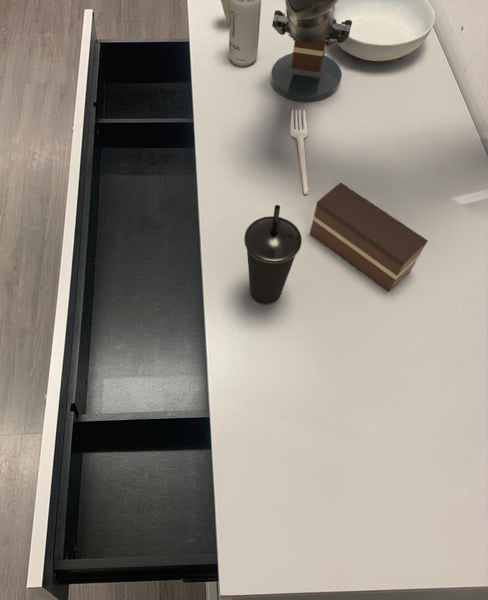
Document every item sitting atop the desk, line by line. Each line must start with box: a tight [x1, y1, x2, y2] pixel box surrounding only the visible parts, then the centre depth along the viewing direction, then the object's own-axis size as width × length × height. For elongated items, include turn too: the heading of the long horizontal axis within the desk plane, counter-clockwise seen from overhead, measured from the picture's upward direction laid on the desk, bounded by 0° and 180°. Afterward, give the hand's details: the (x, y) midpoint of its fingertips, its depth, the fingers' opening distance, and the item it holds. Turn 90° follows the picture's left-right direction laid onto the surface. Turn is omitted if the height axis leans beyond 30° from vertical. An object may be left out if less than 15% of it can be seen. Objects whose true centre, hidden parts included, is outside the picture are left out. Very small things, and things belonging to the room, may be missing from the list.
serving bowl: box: [334, 0, 436, 62], centre depth 110 cm, size 21×21×7 cm
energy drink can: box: [228, 0, 262, 67], centre depth 106 cm, size 6×6×15 cm
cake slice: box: [291, 38, 327, 72], centre depth 101 cm, size 6×5×8 cm
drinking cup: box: [243, 204, 303, 305], centre depth 74 cm, size 8×8×20 cm
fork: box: [289, 109, 309, 195], centre depth 97 cm, size 3×20×2 cm, turn 178°
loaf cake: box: [309, 182, 428, 293], centre depth 82 cm, size 6×16×8 cm, turn 42°
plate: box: [270, 52, 343, 103], centre depth 108 cm, size 14×14×2 cm
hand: (312, 37), depth 102 cm, fingers closed on cake slice, 5 cm apart
